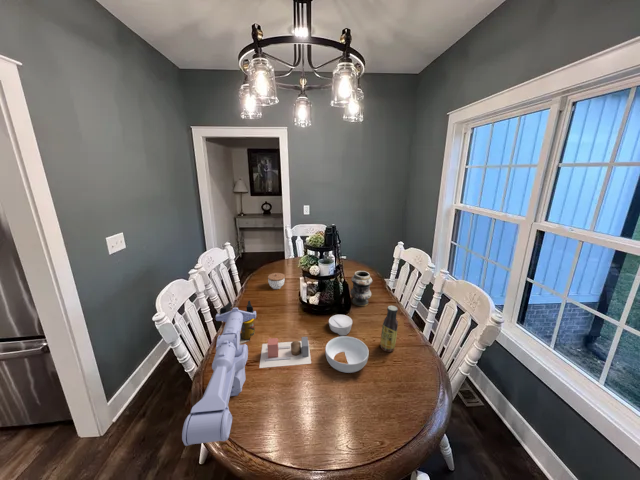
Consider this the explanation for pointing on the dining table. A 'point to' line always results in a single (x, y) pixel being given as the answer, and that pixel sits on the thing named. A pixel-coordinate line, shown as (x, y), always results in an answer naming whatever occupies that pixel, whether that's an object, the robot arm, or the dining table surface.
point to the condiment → (247, 330)
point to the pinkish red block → (272, 347)
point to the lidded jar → (276, 280)
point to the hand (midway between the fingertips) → (239, 303)
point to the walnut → (295, 348)
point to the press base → (286, 355)
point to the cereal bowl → (347, 353)
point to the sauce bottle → (389, 330)
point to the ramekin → (340, 324)
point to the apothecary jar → (361, 288)
